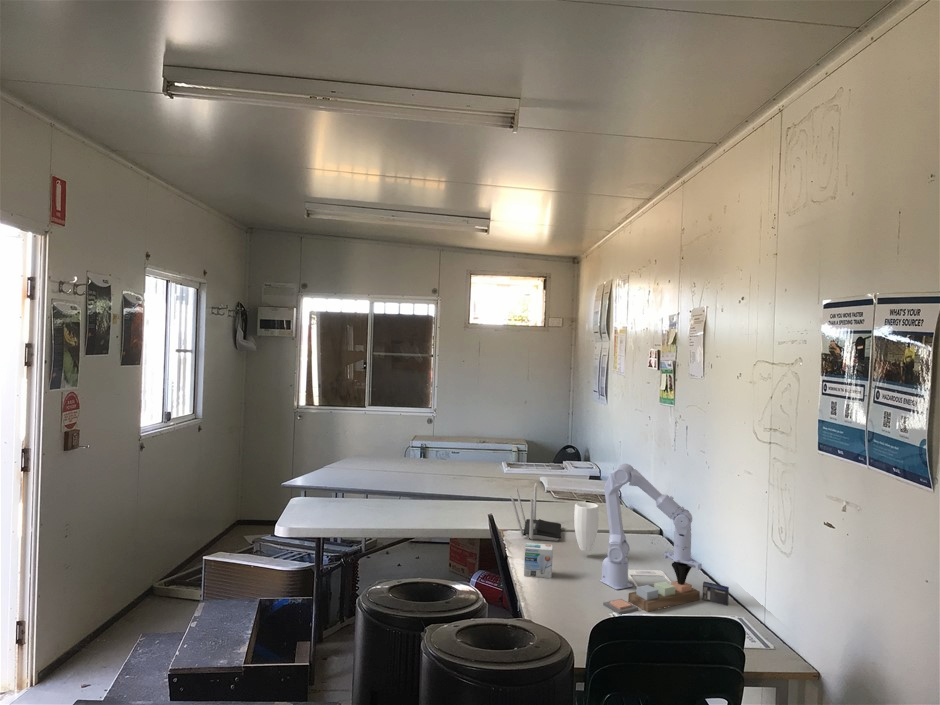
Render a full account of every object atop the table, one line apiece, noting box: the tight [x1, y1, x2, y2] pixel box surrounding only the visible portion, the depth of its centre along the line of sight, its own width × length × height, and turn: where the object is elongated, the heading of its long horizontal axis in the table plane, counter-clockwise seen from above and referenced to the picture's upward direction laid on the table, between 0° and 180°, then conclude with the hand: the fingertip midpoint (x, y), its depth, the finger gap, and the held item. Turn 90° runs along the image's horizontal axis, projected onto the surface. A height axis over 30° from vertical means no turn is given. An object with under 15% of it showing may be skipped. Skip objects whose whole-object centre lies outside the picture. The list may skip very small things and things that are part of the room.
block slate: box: [636, 584, 658, 600], centre depth 208 cm, size 5×5×4 cm
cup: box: [573, 501, 600, 552], centre depth 256 cm, size 10×10×22 cm
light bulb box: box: [523, 542, 554, 579], centre depth 234 cm, size 11×7×11 cm, turn 82°
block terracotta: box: [671, 580, 693, 593], centre depth 216 cm, size 5×5×4 cm
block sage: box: [653, 580, 675, 596], centre depth 212 cm, size 5×5×4 cm
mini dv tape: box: [701, 581, 730, 606], centre depth 212 cm, size 8×2×6 cm, turn 56°
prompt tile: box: [602, 598, 639, 615], centre depth 205 cm, size 8×8×1 cm
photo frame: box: [628, 569, 672, 589], centre depth 232 cm, size 15×1×18 cm
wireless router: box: [510, 482, 562, 542], centre depth 287 cm, size 34×23×20 cm
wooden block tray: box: [627, 587, 701, 613], centre depth 212 cm, size 9×24×3 cm, turn 118°
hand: (681, 583), depth 216 cm, fingers closed, pressing on block terracotta
